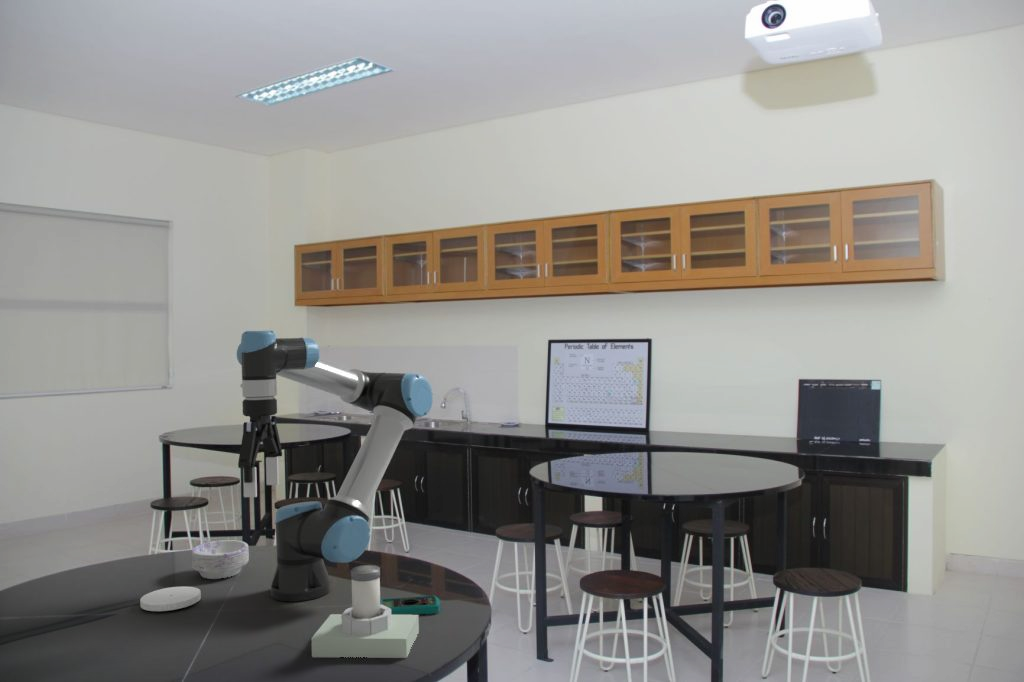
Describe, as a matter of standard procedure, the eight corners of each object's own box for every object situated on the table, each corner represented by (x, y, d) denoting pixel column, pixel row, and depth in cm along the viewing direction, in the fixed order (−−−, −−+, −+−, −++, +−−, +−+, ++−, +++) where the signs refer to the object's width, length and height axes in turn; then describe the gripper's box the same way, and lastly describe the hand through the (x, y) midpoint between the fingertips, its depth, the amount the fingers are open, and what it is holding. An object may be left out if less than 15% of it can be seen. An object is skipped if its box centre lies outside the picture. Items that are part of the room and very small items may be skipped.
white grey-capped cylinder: (355, 619, 178) (354, 565, 178) (383, 619, 177) (382, 565, 177) (348, 629, 172) (347, 573, 171) (377, 629, 171) (376, 573, 171)
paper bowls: (238, 582, 219) (237, 553, 219) (182, 583, 219) (181, 554, 219) (256, 566, 234) (255, 538, 234) (204, 566, 235) (203, 539, 235)
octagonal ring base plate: (331, 631, 182) (330, 601, 182) (418, 632, 181) (418, 601, 181) (311, 657, 168) (311, 623, 168) (406, 658, 167) (405, 624, 167)
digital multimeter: (441, 615, 192) (441, 603, 192) (378, 620, 190) (377, 607, 190) (438, 605, 200) (438, 593, 200) (378, 609, 197) (377, 597, 197)
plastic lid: (178, 592, 212) (178, 583, 212) (212, 601, 205) (212, 591, 205) (128, 609, 201) (128, 599, 201) (162, 619, 193) (162, 608, 193)
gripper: (263, 393, 197) (266, 480, 197) (220, 403, 172) (222, 502, 172) (294, 393, 196) (296, 479, 197) (254, 403, 172) (257, 502, 172)
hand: (261, 490), depth 185 cm, fingers open, 13 cm apart
